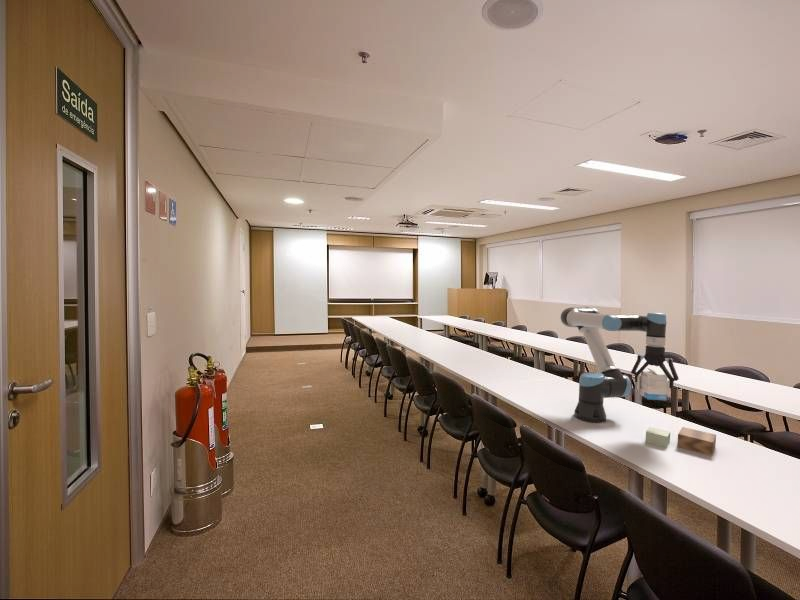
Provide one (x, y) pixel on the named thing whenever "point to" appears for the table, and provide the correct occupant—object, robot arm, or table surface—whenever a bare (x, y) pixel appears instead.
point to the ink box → (653, 385)
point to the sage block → (658, 437)
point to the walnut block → (696, 441)
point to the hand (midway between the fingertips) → (653, 392)
